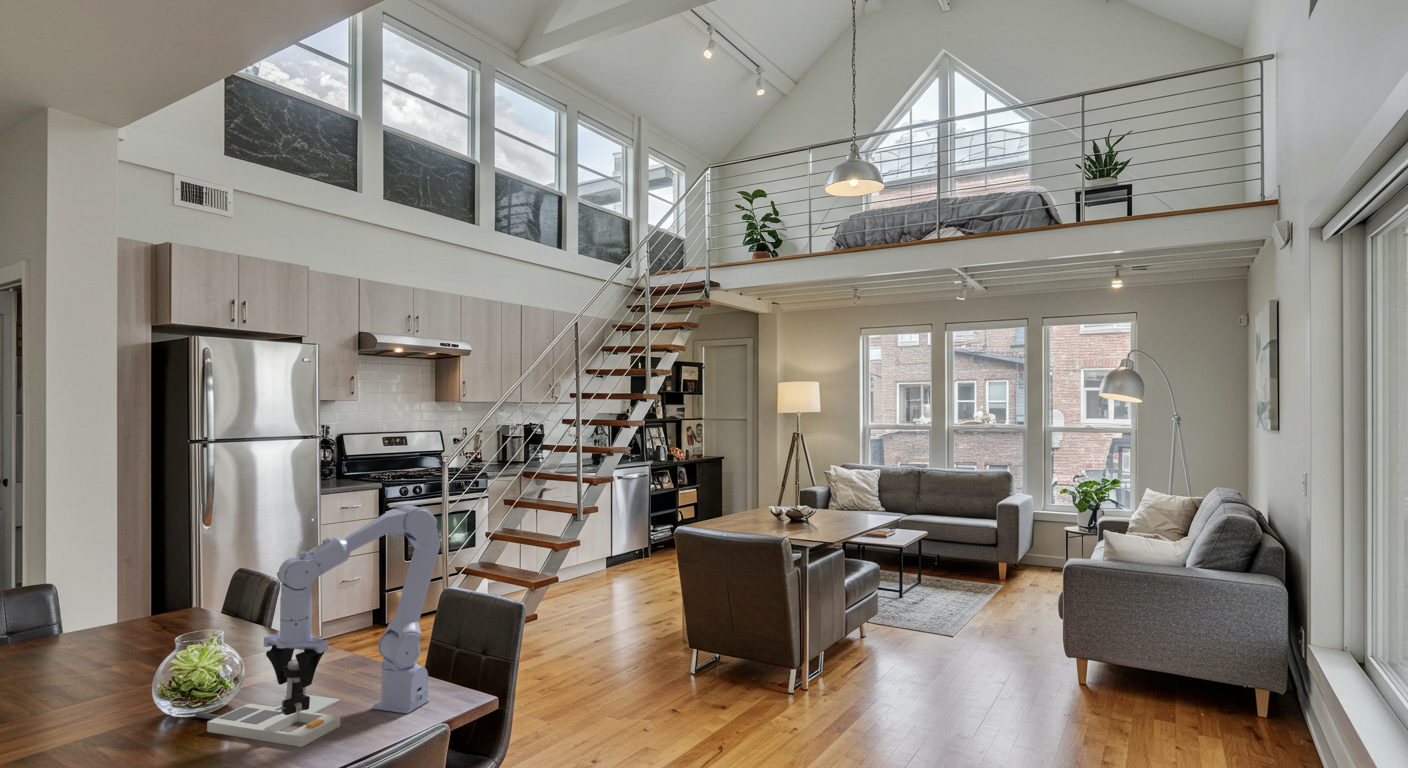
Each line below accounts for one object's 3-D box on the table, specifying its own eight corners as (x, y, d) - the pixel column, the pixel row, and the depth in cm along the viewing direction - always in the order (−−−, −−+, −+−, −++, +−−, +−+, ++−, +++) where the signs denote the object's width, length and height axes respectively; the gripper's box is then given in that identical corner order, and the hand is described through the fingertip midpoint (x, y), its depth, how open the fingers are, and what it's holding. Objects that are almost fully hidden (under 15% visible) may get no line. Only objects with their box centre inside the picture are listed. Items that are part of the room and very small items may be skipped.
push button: (282, 720, 149) (285, 669, 149) (267, 714, 151) (271, 664, 152) (314, 710, 154) (318, 661, 155) (300, 704, 157) (303, 655, 158)
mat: (340, 701, 169) (340, 699, 169) (305, 718, 159) (305, 716, 159) (304, 696, 172) (304, 694, 172) (267, 713, 162) (267, 711, 162)
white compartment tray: (340, 726, 156) (340, 713, 156) (301, 746, 146) (302, 733, 146) (217, 707, 165) (217, 696, 165) (173, 726, 155) (174, 713, 155)
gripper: (251, 619, 152) (250, 687, 151) (309, 625, 148) (308, 695, 147) (280, 610, 159) (279, 675, 158) (336, 616, 155) (335, 682, 154)
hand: (295, 684), depth 153 cm, fingers closed on push button, 5 cm apart
